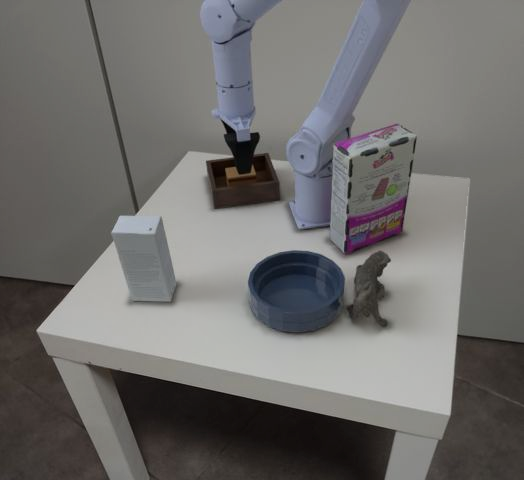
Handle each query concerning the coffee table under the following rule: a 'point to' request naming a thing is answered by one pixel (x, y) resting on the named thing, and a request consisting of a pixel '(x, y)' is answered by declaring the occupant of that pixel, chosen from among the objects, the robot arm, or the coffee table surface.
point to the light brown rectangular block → (239, 177)
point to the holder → (246, 193)
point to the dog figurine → (369, 287)
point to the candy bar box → (370, 187)
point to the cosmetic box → (145, 257)
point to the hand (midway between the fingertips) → (241, 162)
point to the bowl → (296, 290)
